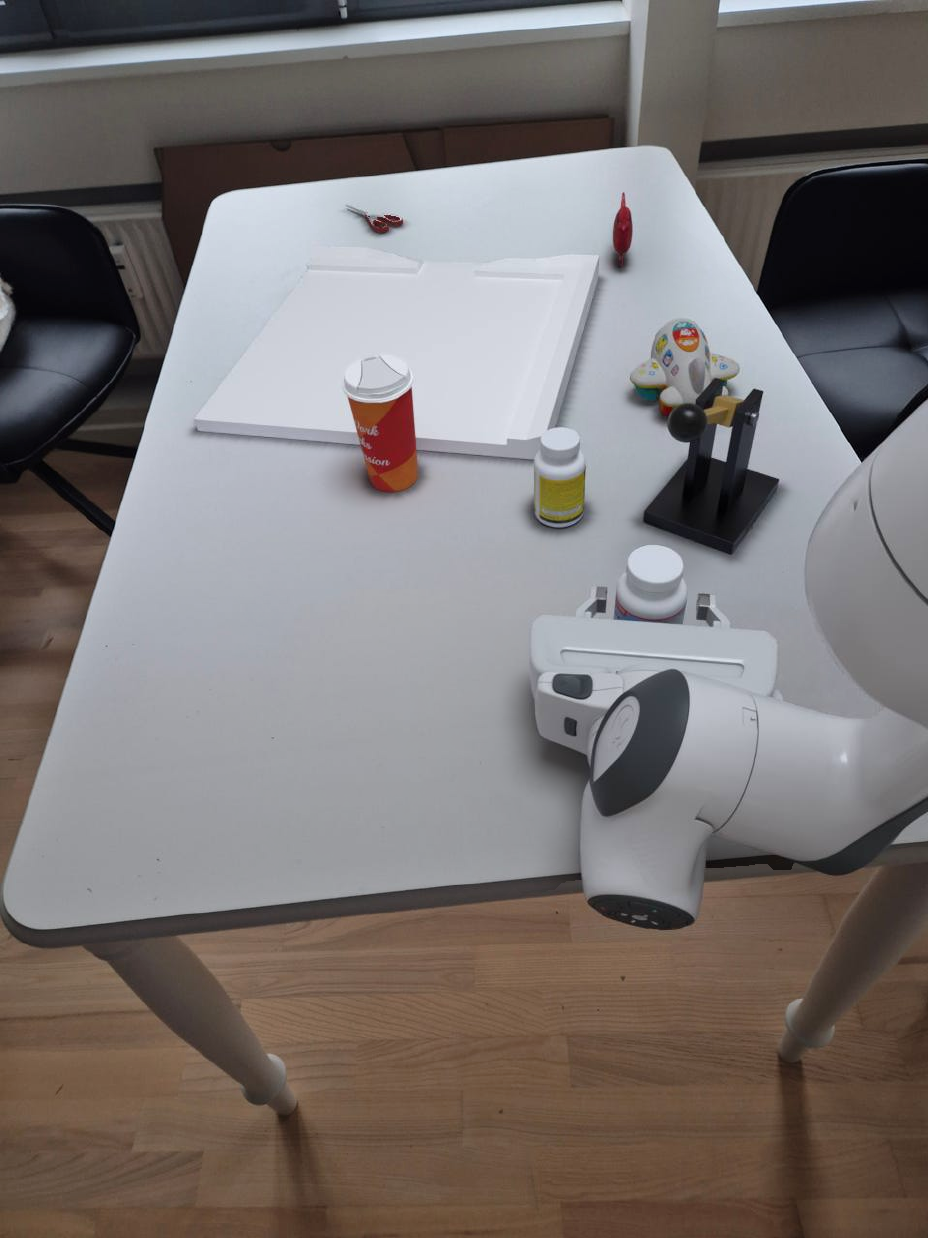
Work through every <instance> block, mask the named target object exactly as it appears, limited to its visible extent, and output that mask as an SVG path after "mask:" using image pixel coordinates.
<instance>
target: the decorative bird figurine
mask: <svg viewBox="0 0 928 1238" xmlns="http://www.w3.org/2000/svg"><path fill="white" fill-rule="evenodd" d="M626 203H627V202H626V194H625V191H624V192H622V194H621V200H620V208H619V209H618V211H617V213H616V215H615V217H614V221H613V227H612V243H613V249H614V251H615V252H616V254H619V255H618V264H619V266H620V267H622V266H623V264H624V254H626V253H628V251H629V250H630V248H631V246H632V241H633V232H634V231H633V228H634V227H633V225H634V224H633V219H632V212H631V209H630V208H629V207H628V206H626Z"/></svg>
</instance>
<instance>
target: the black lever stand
mask: <svg viewBox="0 0 928 1238" xmlns="http://www.w3.org/2000/svg"><path fill="white" fill-rule="evenodd" d="M723 384H724V380H722V379H718V378H714V379H713V381H712V382H711V383H710V384H709V385H708V386H707V387H706V388H705V390H704V391H703V392H702V393H701V394H700V395H699V396H698V398H697V399H696V402H695V404H696V405H698V406H700V407H701V408H702V409H703V410H706V409H709V408H712V407H713V404H714V400H715V397H718V396H722V390H723ZM763 395H764V390H762V389H758V388H752V390H751V391H750V393H749V394H748V395H747V396H746V397H745V399H743V400H744V401H743V402H742V403H741V405H740V406H739V407H738V408H737V409H736V411H735V415H734V421H733V426H732V427H731V432H730V438H729V443H728V448H727V449H728V450H727V453H726V459H725V460H722V459H718V458H715V457H713V452H714V451H713V450H714V444H715V439H716V433H717V425H718V424H716V423H711V424H708V425H707V428H706V430H705V432H704V434H703V435H702V436H701V437H700V438H699V439H697V440H695V441H693V442H689V446H688V453H687V459H686V460H685V461H684V463H683V464H682V465H681V466H680V467H679V468H678V469H677V471H675V473H674V474H673V475H672V477H671V478H670V480H669V481H667V483H666V484H665V485H664V486H663V488H662V489H661V490H660V491H659V492H658V493H657V495H656V496H655V498H653V500H652V501H651V502H650V503H649V505H648V506H647V507H646V508H645V509H644V510H643V518H642V522H643V523H645V524H648V525H651V526H653V527H656V528H659V529H662V530H664V531H667V532H670V533H672V534H675V535H678V536H681V537H683V538H686V539H689V540H692V541H694V542H697V543H700V544H702V545H705V546H708V547H710V548H713V549H716V550H719V551H721V552H724V553H726V554H729V555H732V554H733V553H734V551H735V550H736V549H737V547H738V546H739V544H740V543H741V541H742V540H743V539H744V537H745V535H746V534H747V533H748V532H749V530H750V529H751V527H752V526H753V525H754V523H755V521H756V520H757V519H758V518H759V516H760V514H761V513H762V512H763V510H764V509H765V507H766V506H767V505H768V503H769V502H770V500H771V499H772V497H773V496H774V495H775V493H776V492H777V490H778V487H779V483H780V478H778V477H775V476H771V475H768V474H765V473H762V472H759V471H755V470H752V469H749V463H750V458H751V452H752V448H753V445H754V440H755V439H754V438H755V435H756V430H757V425H758V421H759V417H760V409H761V405H762V400H763Z"/></svg>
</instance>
